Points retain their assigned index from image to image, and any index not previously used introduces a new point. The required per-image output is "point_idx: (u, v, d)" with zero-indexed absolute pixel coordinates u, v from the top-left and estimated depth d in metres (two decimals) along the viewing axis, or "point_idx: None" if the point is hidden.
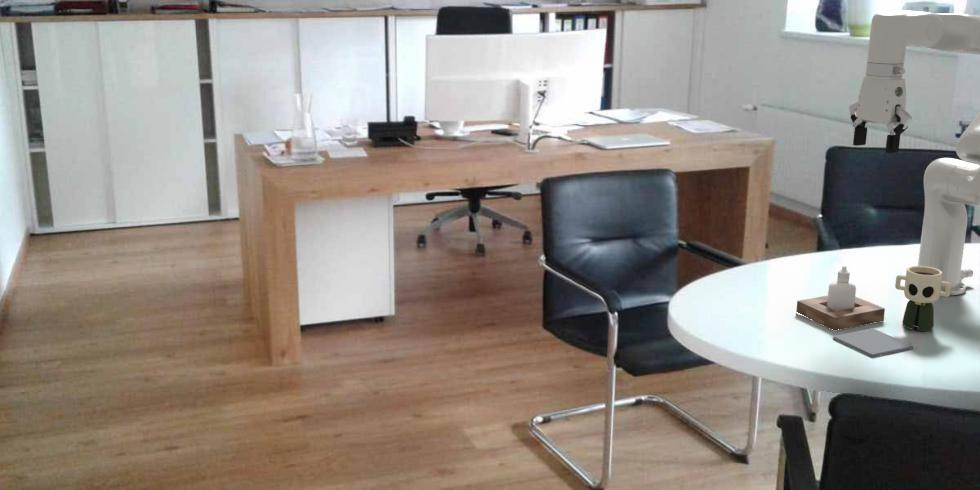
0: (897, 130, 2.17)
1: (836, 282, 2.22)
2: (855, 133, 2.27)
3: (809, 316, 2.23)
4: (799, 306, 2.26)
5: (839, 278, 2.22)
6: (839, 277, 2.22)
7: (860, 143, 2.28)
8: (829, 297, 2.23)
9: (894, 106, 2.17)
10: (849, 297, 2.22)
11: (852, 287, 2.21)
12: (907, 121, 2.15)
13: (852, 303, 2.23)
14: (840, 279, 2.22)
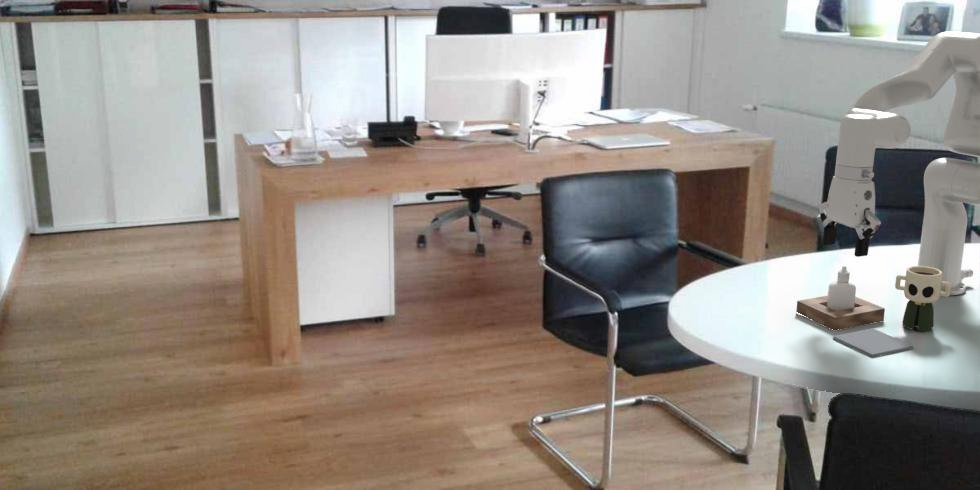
0: (866, 234, 2.13)
1: (836, 282, 2.22)
2: (824, 233, 2.23)
3: (809, 316, 2.23)
4: (799, 306, 2.26)
5: (839, 278, 2.22)
6: (839, 277, 2.22)
7: (829, 242, 2.24)
8: (829, 297, 2.23)
9: (863, 210, 2.13)
10: (849, 297, 2.22)
11: (852, 287, 2.21)
12: (876, 226, 2.11)
13: (852, 303, 2.23)
14: (840, 279, 2.22)
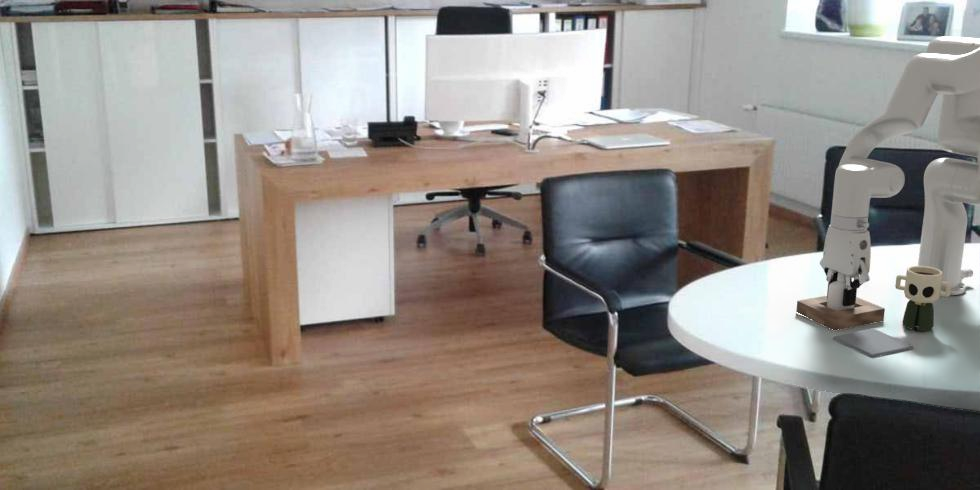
0: (853, 285, 2.19)
1: (836, 282, 2.22)
2: None
3: (809, 316, 2.23)
4: (799, 306, 2.26)
5: (839, 278, 2.22)
6: (839, 277, 2.22)
7: None
8: (829, 297, 2.23)
9: (859, 259, 2.16)
10: None
11: None
12: (864, 282, 2.16)
13: None
14: (840, 279, 2.22)
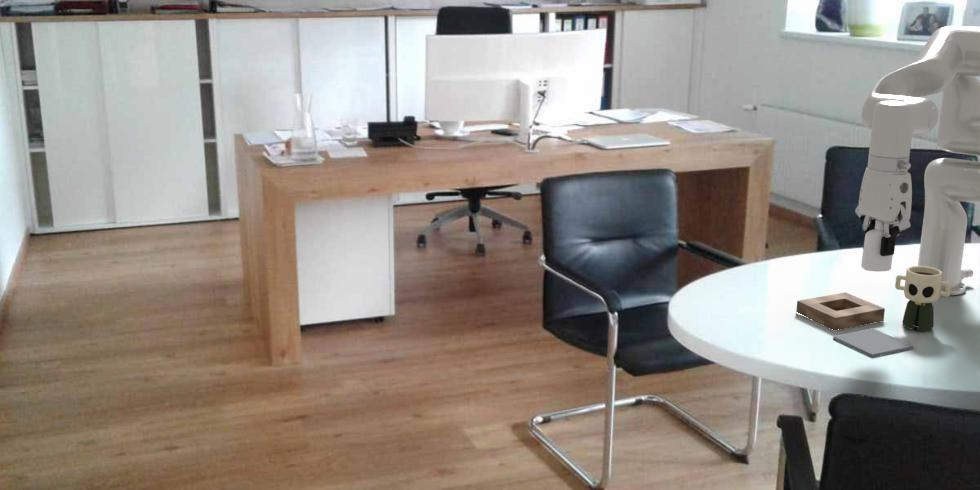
0: (892, 232, 2.01)
1: (873, 230, 2.05)
2: None
3: (809, 316, 2.23)
4: (799, 306, 2.26)
5: (877, 226, 2.04)
6: (877, 225, 2.04)
7: None
8: (865, 247, 2.05)
9: (899, 203, 1.98)
10: None
11: None
12: (904, 228, 1.99)
13: None
14: (878, 227, 2.04)
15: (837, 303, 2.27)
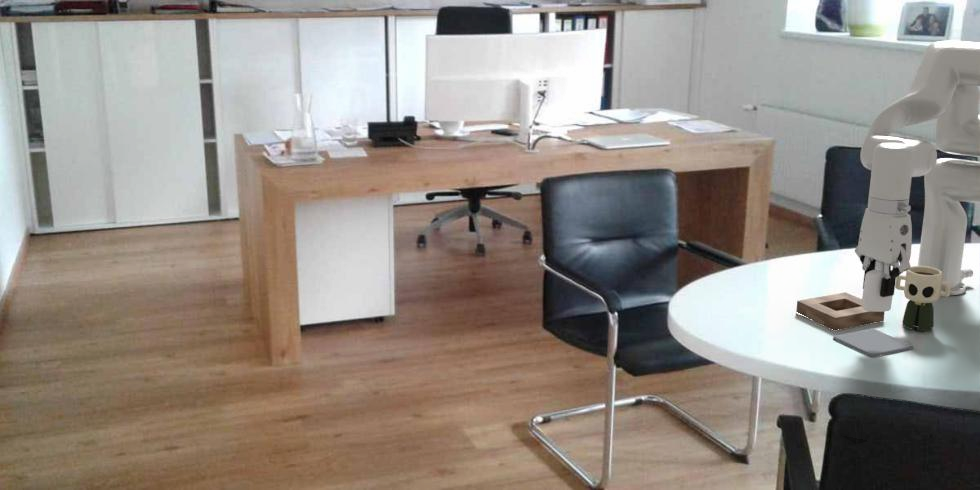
0: (892, 274, 2.01)
1: (874, 271, 2.05)
2: None
3: (809, 316, 2.23)
4: (799, 306, 2.26)
5: (877, 267, 2.04)
6: (877, 266, 2.04)
7: None
8: (866, 287, 2.06)
9: (899, 245, 1.99)
10: None
11: None
12: (904, 270, 1.99)
13: None
14: (878, 268, 2.04)
15: (837, 303, 2.27)
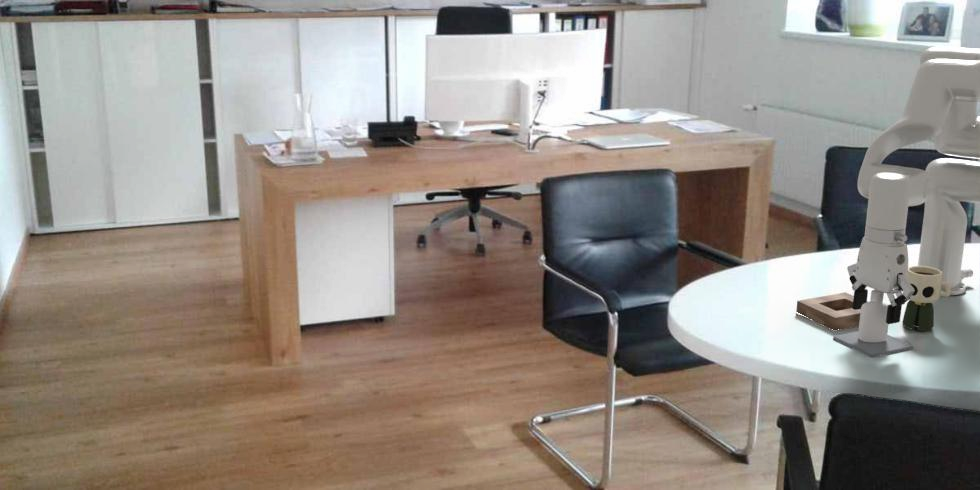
0: (898, 301, 2.01)
1: (869, 303, 2.07)
2: (855, 297, 2.11)
3: (809, 316, 2.23)
4: (799, 306, 2.26)
5: (873, 298, 2.07)
6: (873, 297, 2.07)
7: (860, 307, 2.12)
8: (862, 319, 2.08)
9: (896, 275, 2.00)
10: (883, 318, 2.07)
11: (886, 308, 2.07)
12: (909, 294, 1.99)
13: (886, 325, 2.08)
14: (874, 299, 2.07)
15: (837, 303, 2.27)
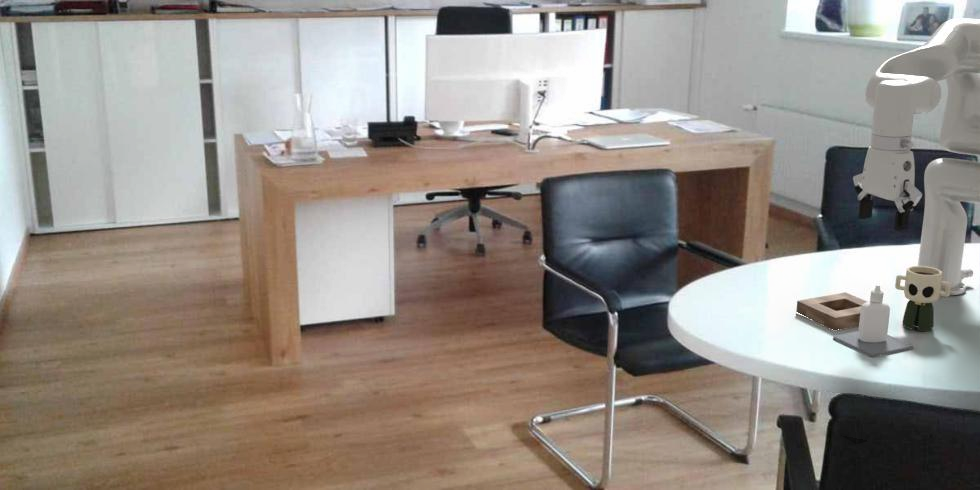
0: (906, 207, 2.02)
1: (869, 303, 2.08)
2: (860, 206, 2.12)
3: (809, 316, 2.23)
4: (799, 306, 2.26)
5: (873, 298, 2.07)
6: (873, 297, 2.07)
7: (866, 216, 2.13)
8: (862, 319, 2.08)
9: (902, 182, 2.02)
10: (883, 318, 2.07)
11: (886, 308, 2.07)
12: (917, 198, 2.00)
13: (886, 325, 2.08)
14: (874, 299, 2.07)
15: (837, 303, 2.27)
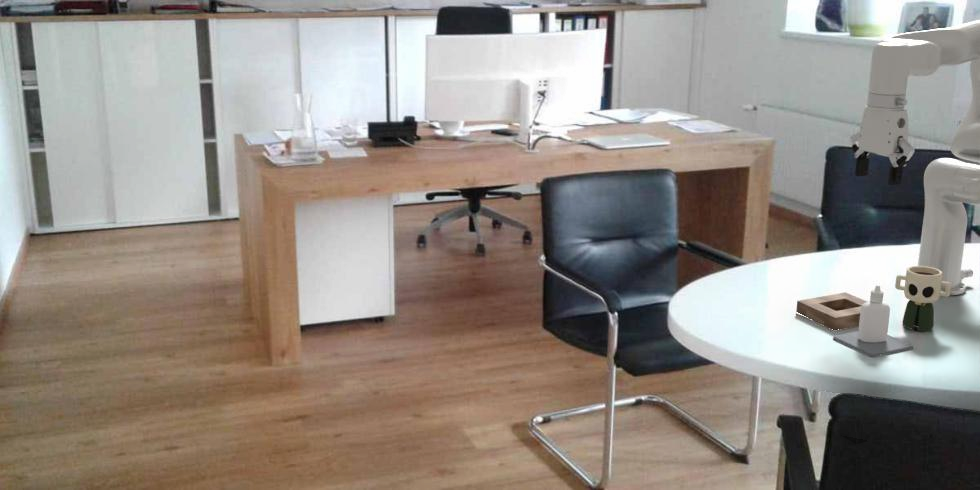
0: (900, 162, 2.13)
1: (869, 303, 2.08)
2: (857, 164, 2.23)
3: (809, 316, 2.23)
4: (799, 306, 2.26)
5: (873, 298, 2.07)
6: (873, 297, 2.07)
7: (862, 174, 2.24)
8: (862, 319, 2.08)
9: (896, 138, 2.13)
10: (883, 318, 2.07)
11: (886, 308, 2.07)
12: (910, 153, 2.11)
13: (886, 325, 2.08)
14: (874, 299, 2.07)
15: (837, 303, 2.27)
